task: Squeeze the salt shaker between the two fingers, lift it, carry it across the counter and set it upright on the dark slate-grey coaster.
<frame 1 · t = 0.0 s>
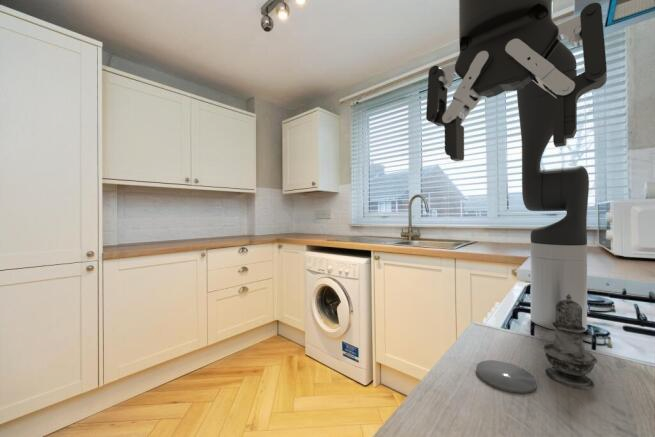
hand: (502, 153, 27), 29 cm above the counter, fingers open, 8 cm apart
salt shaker: (568, 379, 40), on the counter
coaster: (504, 377, 40), on the counter
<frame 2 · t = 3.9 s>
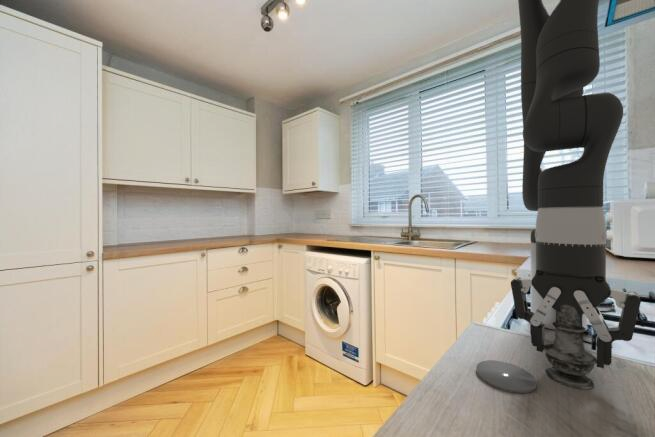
hand: (568, 356, 40), 3 cm above the counter, fingers closed on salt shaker, 6 cm apart
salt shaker: (568, 379, 40), on the counter, touching gripper
when the fingers open (5 cm above the counter, at t = 9.8 s): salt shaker drops 1 cm, resting on coaster.
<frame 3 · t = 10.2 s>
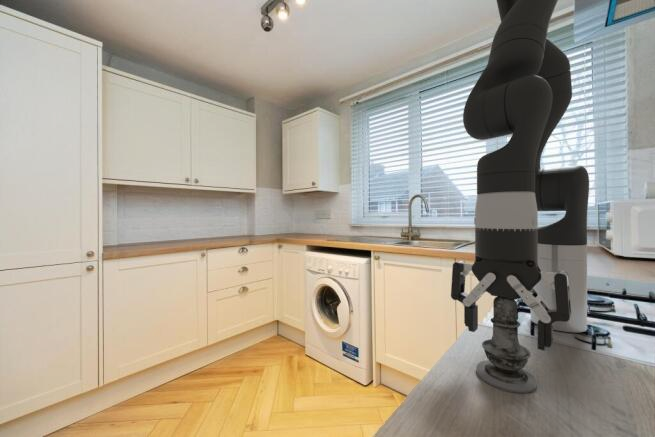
hand: (504, 338, 40), 6 cm above the counter, fingers open, 8 cm apart
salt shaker: (505, 374, 40), resting on coaster
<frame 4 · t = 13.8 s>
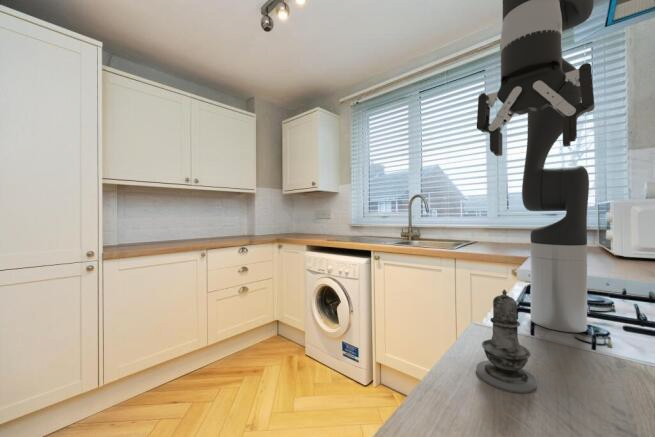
hand: (529, 150, 43), 33 cm above the counter, fingers open, 8 cm apart
nothing on the counter moved.
at the end: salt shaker 0.1 cm from the coaster (horizontally); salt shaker tilted 1°; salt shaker touching coaster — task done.
